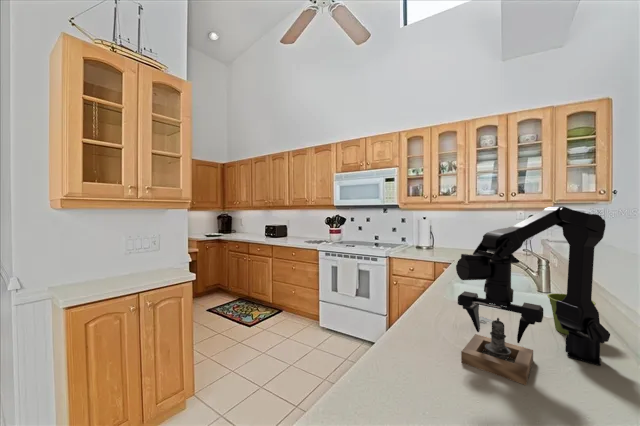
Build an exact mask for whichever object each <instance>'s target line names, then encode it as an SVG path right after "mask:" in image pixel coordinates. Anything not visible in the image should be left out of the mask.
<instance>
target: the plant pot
mask: <svg viewBox="0 0 640 426" xmlns="http://www.w3.org/2000/svg"><path fill="white" fill-rule="evenodd" d="M566 295H567V293H548V294H547V298H548V299H549V304H550V305H551V311H552V318H553V322H554V327H555V330H556V331H557V332H559V333H561V334H564V335H565V336H566V335H569V331H567V330H565V329H562V327H561V324H560V321H559V320H558V319H557V315H556V314H555V312H556V302H557V301H562V300H563V299H564V298H565V297H566ZM592 302H593V304H594V305H595V306H596V302H595V301H593V300H592Z"/></svg>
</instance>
